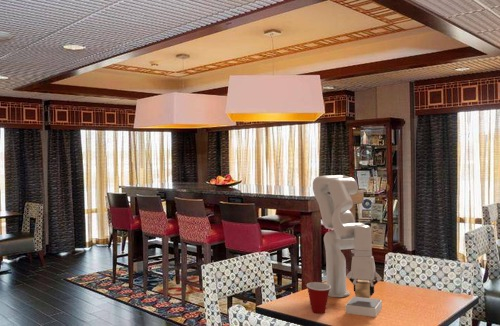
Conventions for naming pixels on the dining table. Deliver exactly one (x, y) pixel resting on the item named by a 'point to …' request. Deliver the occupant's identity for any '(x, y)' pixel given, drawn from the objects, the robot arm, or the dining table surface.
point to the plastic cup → (318, 296)
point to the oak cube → (362, 289)
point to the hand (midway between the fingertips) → (363, 293)
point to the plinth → (364, 306)
